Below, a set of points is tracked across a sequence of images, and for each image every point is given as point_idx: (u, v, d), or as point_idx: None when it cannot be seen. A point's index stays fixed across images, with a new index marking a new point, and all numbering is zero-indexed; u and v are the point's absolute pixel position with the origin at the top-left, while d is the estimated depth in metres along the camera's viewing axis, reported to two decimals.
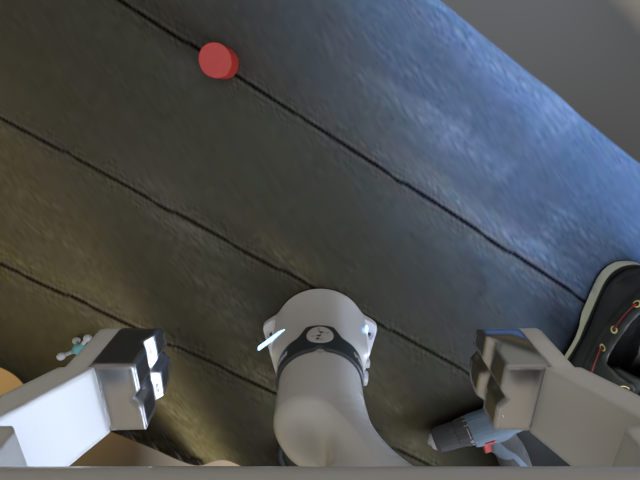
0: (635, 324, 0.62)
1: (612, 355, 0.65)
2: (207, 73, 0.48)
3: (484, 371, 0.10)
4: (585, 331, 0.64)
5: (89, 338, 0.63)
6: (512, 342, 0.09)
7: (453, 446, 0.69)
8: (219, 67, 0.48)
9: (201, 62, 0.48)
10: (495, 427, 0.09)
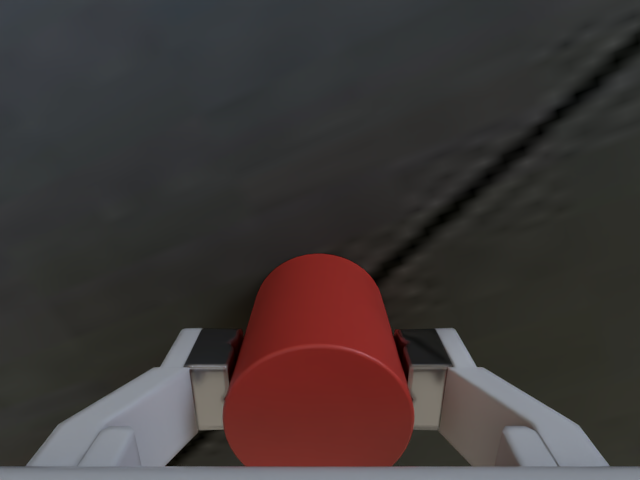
0: None
1: None
2: None
3: None
4: None
5: None
6: (423, 342, 0.09)
7: None
8: (357, 414, 0.08)
9: None
10: None
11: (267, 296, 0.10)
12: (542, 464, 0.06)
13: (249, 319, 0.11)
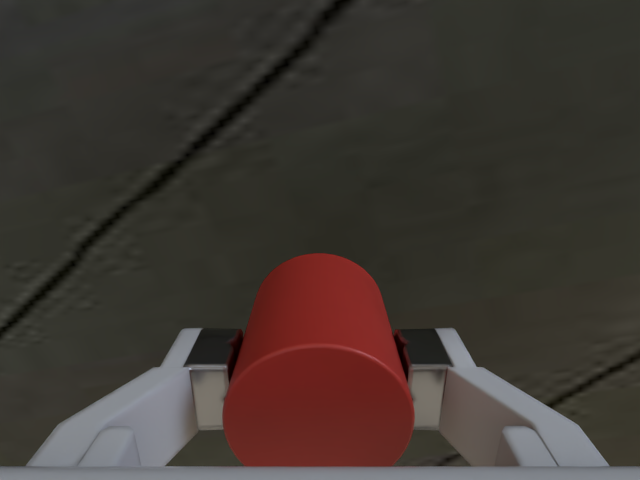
0: None
1: None
2: None
3: None
4: None
5: None
6: (423, 342, 0.09)
7: None
8: (358, 414, 0.08)
9: None
10: None
11: (267, 296, 0.10)
12: (542, 464, 0.06)
13: (249, 319, 0.11)
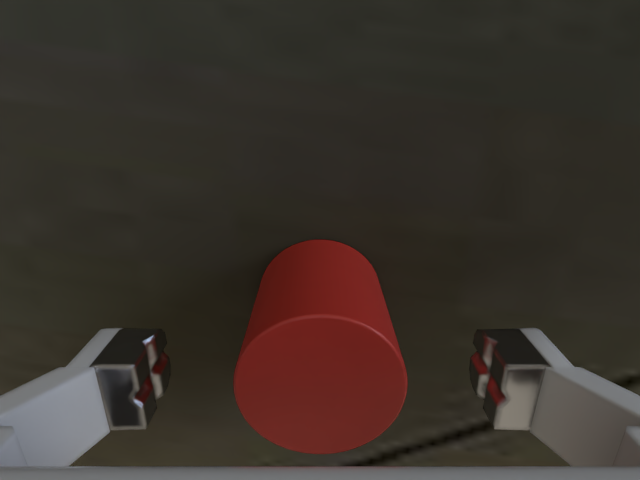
0: None
1: None
2: (370, 435, 0.09)
3: (484, 371, 0.10)
4: None
5: None
6: (512, 342, 0.09)
7: None
8: (356, 379, 0.09)
9: (315, 445, 0.10)
10: (495, 427, 0.09)
11: (272, 277, 0.11)
12: None
13: None
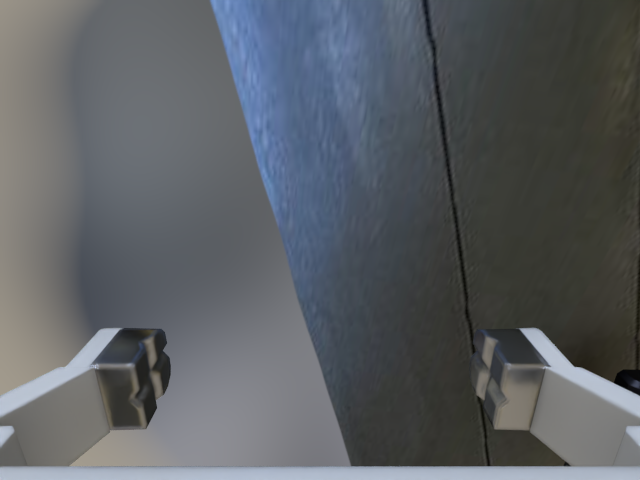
0: None
1: None
2: None
3: (484, 371, 0.10)
4: None
5: None
6: (512, 342, 0.09)
7: None
8: None
9: None
10: (495, 427, 0.09)
11: None
12: None
13: None
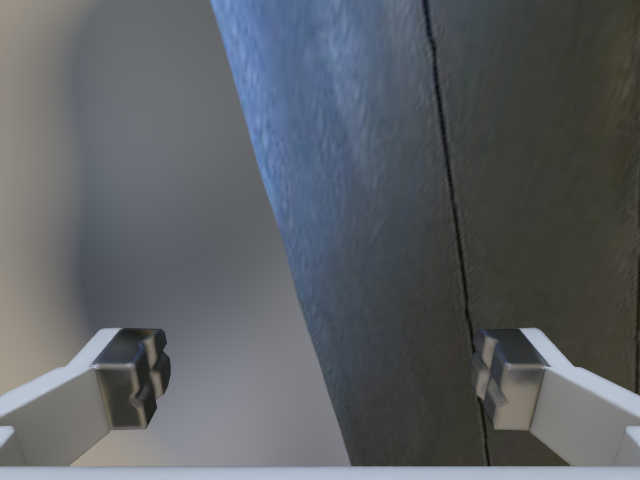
0: None
1: None
2: None
3: (484, 371, 0.10)
4: None
5: None
6: (512, 342, 0.09)
7: None
8: None
9: None
10: (495, 427, 0.09)
11: None
12: None
13: None
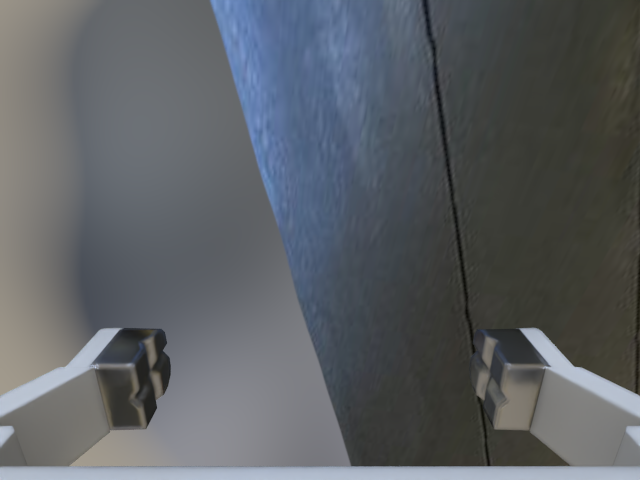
0: None
1: None
2: None
3: (484, 371, 0.10)
4: None
5: None
6: (512, 342, 0.09)
7: None
8: None
9: None
10: (495, 427, 0.09)
11: None
12: None
13: None
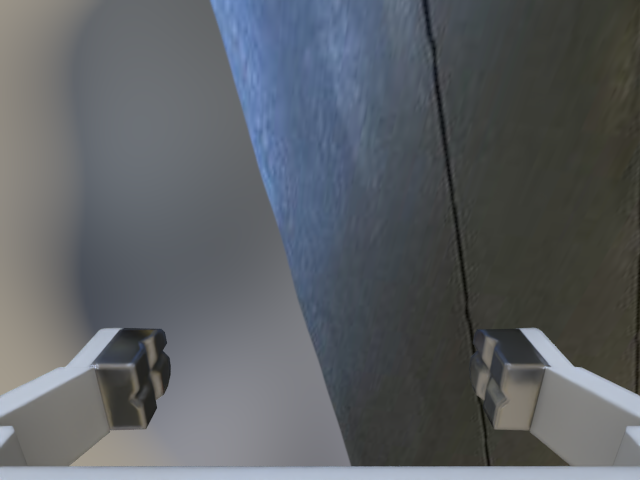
0: None
1: None
2: None
3: (484, 371, 0.10)
4: None
5: None
6: (512, 342, 0.09)
7: None
8: None
9: None
10: (495, 427, 0.09)
11: None
12: None
13: None
